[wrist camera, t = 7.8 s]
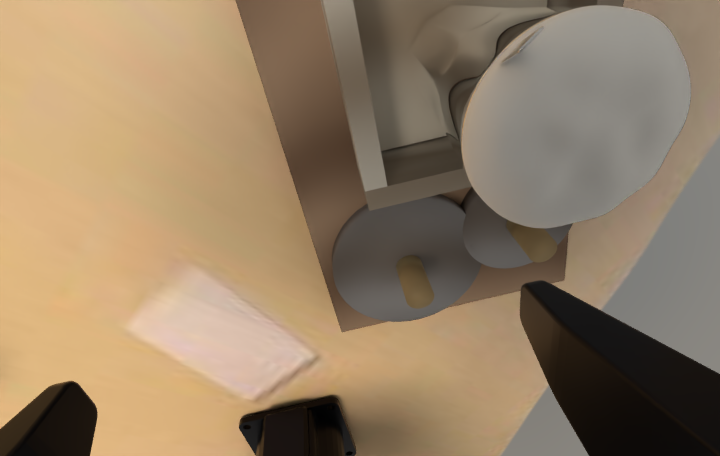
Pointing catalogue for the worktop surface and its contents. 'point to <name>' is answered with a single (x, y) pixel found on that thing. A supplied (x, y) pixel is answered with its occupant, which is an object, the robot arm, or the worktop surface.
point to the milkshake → (553, 103)
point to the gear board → (385, 162)
